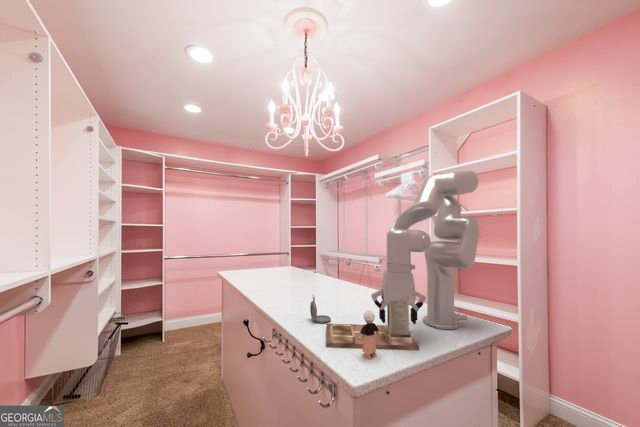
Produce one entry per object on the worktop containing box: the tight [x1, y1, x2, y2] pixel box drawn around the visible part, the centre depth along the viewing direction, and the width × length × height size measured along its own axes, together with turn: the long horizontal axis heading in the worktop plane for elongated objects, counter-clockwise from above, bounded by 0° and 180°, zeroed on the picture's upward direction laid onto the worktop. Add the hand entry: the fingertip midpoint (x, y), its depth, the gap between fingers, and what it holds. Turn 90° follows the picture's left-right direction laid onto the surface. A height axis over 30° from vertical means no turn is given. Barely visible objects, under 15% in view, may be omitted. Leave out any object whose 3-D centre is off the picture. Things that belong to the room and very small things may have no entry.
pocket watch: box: [309, 294, 332, 324], centre depth 102 cm, size 8×8×10 cm
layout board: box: [325, 323, 420, 351], centre depth 88 cm, size 28×16×6 cm, turn 88°
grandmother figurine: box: [359, 309, 380, 360], centre depth 75 cm, size 8×4×13 cm, turn 133°
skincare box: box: [386, 296, 410, 335], centre depth 85 cm, size 6×4×12 cm
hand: (398, 321), depth 85 cm, fingers open, 9 cm apart
